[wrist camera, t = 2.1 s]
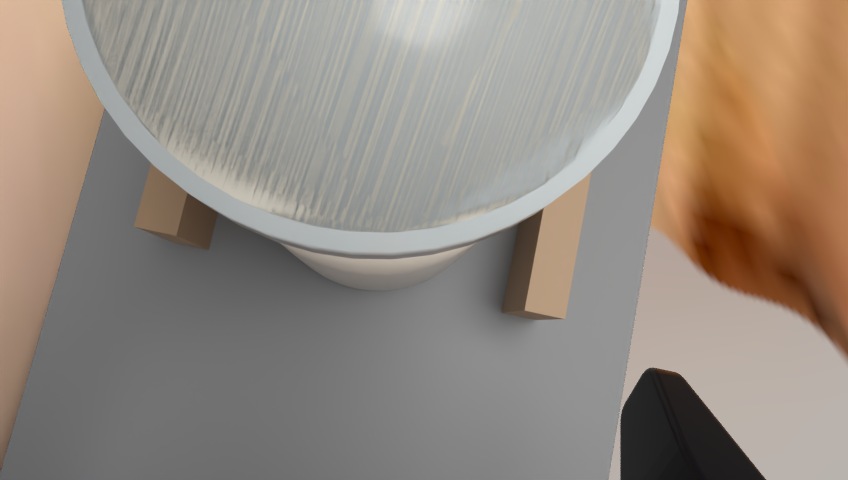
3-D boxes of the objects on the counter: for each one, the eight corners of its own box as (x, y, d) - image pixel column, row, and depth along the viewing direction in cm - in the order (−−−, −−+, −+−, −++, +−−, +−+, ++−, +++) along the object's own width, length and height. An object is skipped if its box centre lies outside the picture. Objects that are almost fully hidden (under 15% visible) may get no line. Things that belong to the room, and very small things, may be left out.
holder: (545, 765, 19) (592, 892, 14) (-31, 657, 18) (-154, 756, 14) (677, -23, 22) (747, -105, 18) (194, -137, 21) (149, -249, 17)
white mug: (471, 320, 19) (627, 313, 7) (233, 269, 19) (-26, 173, 7) (528, 31, 20) (745, -395, 8) (306, -21, 20) (195, -538, 8)
